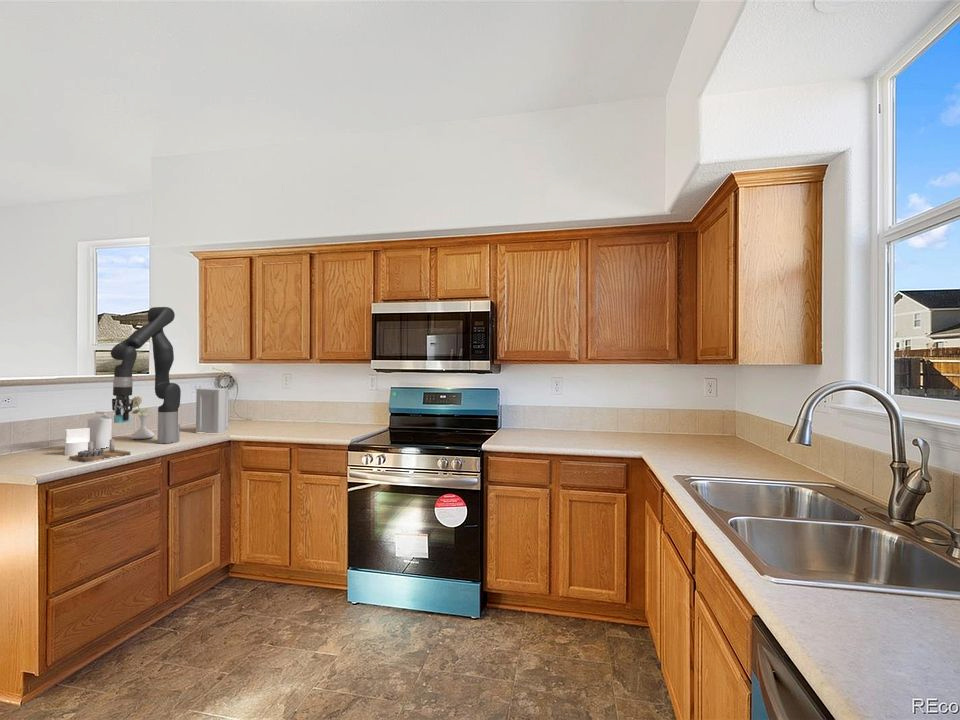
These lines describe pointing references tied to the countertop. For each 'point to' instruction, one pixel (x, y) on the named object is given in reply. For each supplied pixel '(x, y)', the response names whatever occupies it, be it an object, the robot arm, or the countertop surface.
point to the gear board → (98, 453)
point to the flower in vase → (142, 432)
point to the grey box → (212, 410)
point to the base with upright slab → (76, 440)
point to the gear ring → (120, 419)
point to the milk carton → (100, 430)
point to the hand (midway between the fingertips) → (121, 419)
